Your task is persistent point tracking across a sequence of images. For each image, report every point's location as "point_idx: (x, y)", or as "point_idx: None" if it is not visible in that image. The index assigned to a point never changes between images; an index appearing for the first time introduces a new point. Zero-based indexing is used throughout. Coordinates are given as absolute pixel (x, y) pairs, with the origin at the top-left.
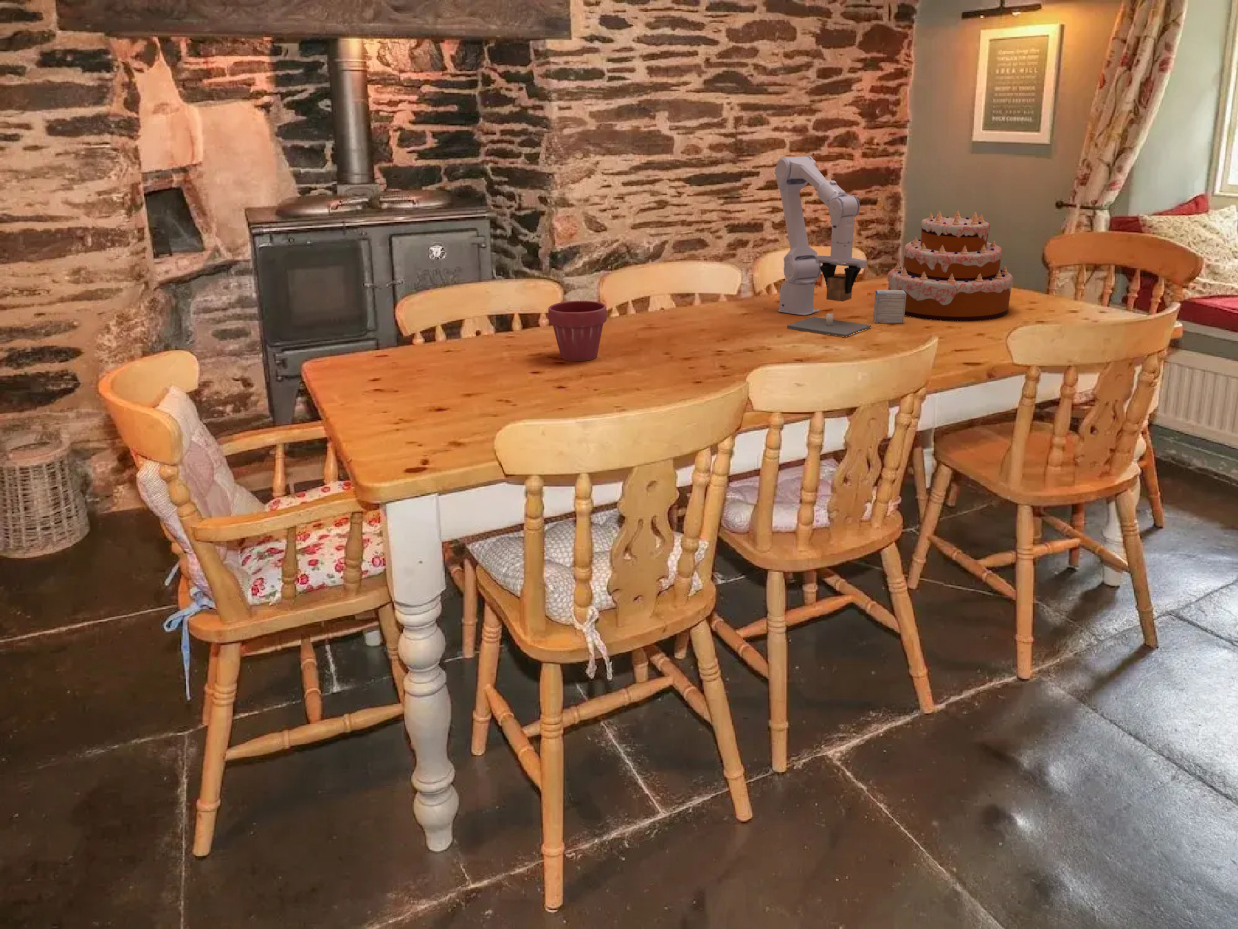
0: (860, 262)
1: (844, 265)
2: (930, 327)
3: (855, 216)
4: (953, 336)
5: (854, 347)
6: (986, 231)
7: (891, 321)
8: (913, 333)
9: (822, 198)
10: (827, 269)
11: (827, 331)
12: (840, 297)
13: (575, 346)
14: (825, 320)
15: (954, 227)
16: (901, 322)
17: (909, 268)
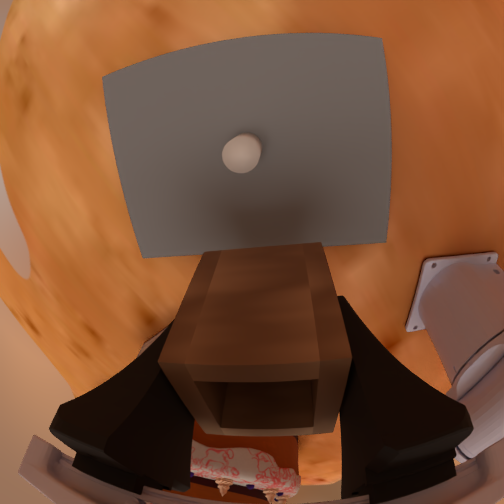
0: (33, 474)
1: (195, 500)
2: (91, 336)
3: None
4: (27, 294)
5: (43, 34)
6: None
7: (158, 334)
8: (59, 271)
9: None
10: (375, 435)
11: (179, 55)
12: (215, 262)
13: None
14: (315, 214)
15: None
16: (146, 342)
17: (216, 493)
